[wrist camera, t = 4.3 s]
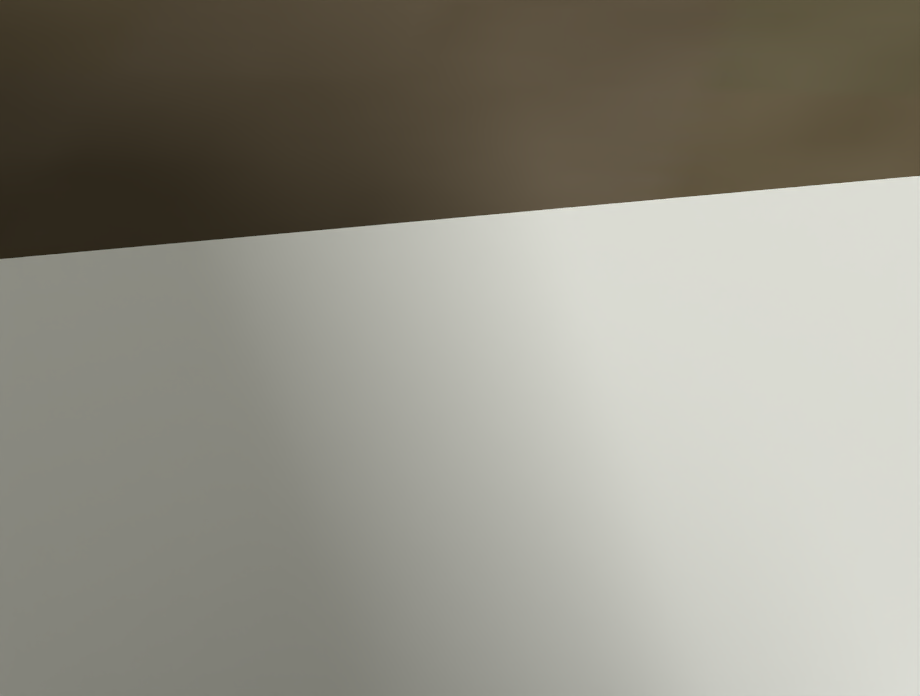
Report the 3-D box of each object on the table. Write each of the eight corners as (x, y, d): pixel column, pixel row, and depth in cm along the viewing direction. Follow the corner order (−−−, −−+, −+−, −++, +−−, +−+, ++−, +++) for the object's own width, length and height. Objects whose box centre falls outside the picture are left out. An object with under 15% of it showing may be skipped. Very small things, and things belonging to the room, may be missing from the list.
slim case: (558, 448, 16) (1091, 151, 4) (592, 663, 15) (1431, 1162, 3) (247, 487, 15) (-291, 274, 3) (263, 716, 14) (-407, 1656, 2)
